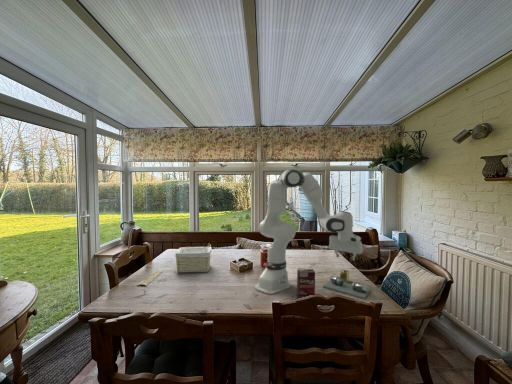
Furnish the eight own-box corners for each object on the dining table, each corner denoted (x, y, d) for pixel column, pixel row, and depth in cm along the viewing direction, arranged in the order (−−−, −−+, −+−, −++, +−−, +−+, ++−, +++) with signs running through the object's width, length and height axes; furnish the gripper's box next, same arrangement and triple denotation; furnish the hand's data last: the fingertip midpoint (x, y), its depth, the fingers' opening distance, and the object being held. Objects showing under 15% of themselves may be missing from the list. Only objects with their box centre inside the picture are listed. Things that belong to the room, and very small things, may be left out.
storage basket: (211, 265, 179) (211, 246, 178) (210, 273, 163) (209, 252, 162) (179, 266, 176) (179, 246, 176) (174, 274, 160) (174, 253, 160)
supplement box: (298, 302, 121) (299, 272, 121) (296, 298, 126) (296, 269, 125) (315, 302, 121) (315, 272, 121) (312, 297, 126) (312, 268, 126)
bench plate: (364, 299, 125) (364, 297, 125) (323, 287, 139) (323, 285, 139) (370, 290, 135) (370, 289, 135) (331, 280, 149) (331, 279, 149)
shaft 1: (343, 285, 140) (343, 278, 140) (337, 286, 138) (338, 279, 138) (334, 280, 147) (334, 274, 147) (328, 282, 145) (328, 275, 145)
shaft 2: (368, 291, 132) (368, 283, 132) (366, 294, 128) (366, 286, 128) (354, 287, 137) (354, 280, 137) (352, 290, 133) (352, 283, 133)
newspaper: (146, 287, 141) (146, 284, 141) (134, 287, 141) (134, 284, 141) (162, 272, 165) (162, 270, 165) (153, 272, 165) (152, 270, 165)
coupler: (346, 283, 145) (346, 272, 145) (340, 281, 148) (340, 271, 147) (349, 280, 149) (349, 270, 149) (342, 279, 151) (342, 268, 151)
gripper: (327, 235, 152) (327, 256, 152) (360, 239, 139) (360, 262, 139) (331, 233, 156) (331, 254, 157) (363, 237, 144) (363, 260, 144)
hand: (345, 258), depth 148 cm, fingers open, 8 cm apart
